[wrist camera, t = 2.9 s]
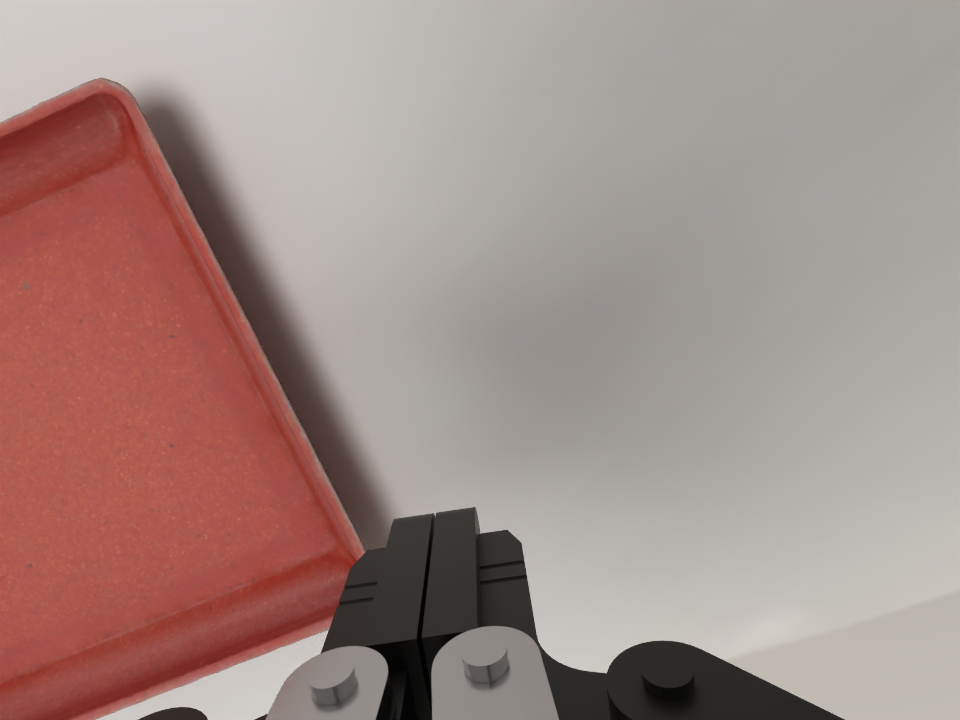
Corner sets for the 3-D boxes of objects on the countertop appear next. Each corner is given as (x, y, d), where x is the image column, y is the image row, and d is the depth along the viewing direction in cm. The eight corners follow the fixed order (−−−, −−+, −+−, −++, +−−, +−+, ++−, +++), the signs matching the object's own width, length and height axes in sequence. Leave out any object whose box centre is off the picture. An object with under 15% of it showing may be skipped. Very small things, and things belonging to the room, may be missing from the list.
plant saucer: (170, 87, 20) (111, 62, 16) (403, 555, 23) (392, 609, 20) (-297, 305, 21) (-437, 322, 18) (-4, 713, 25) (-75, 788, 22)
